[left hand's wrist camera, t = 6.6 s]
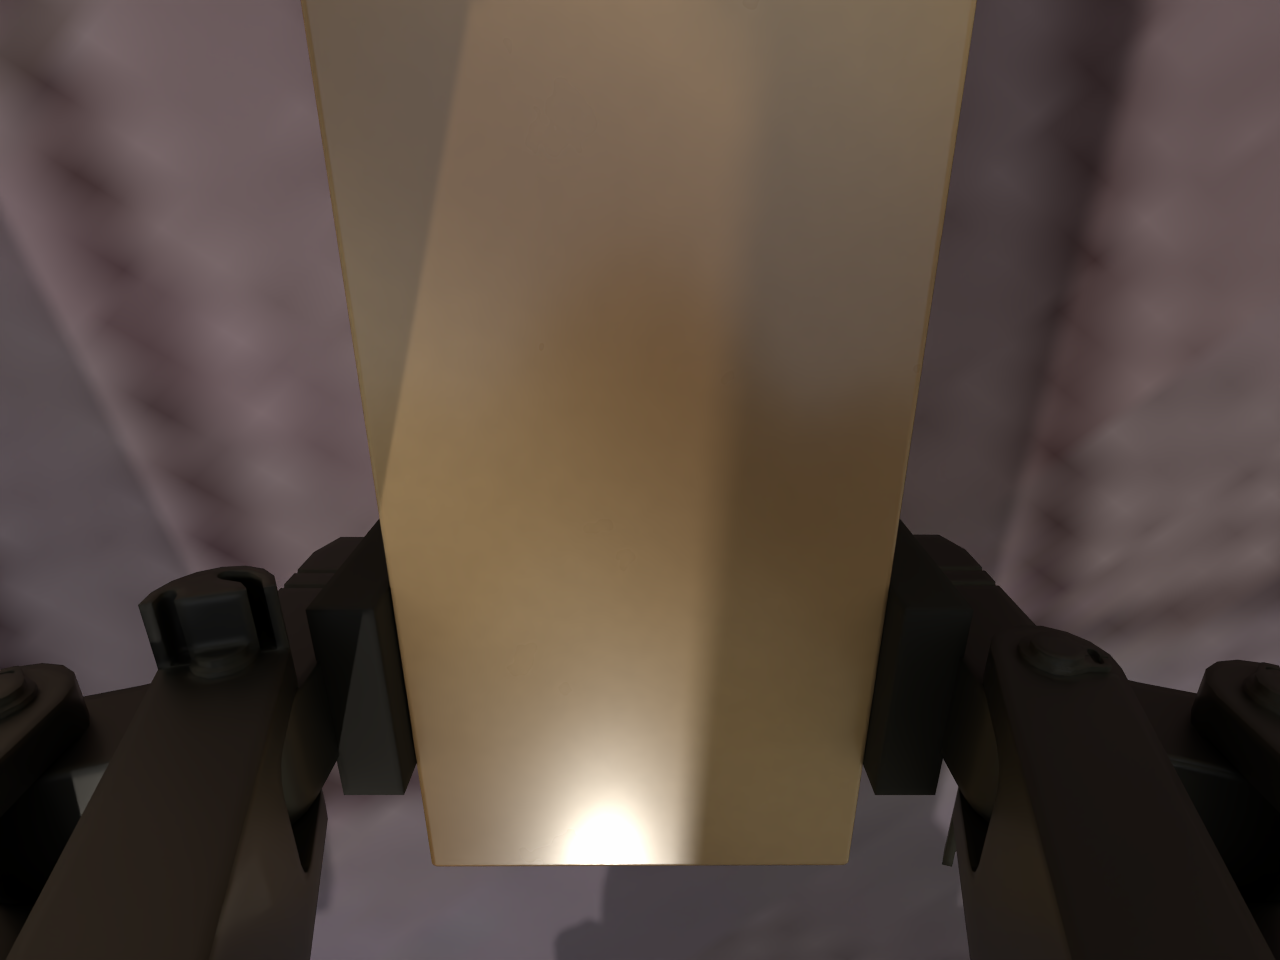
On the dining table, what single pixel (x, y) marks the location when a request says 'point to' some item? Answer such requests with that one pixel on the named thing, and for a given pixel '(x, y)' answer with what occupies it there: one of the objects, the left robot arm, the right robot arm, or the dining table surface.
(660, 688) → the brass rectangular prism
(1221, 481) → the dining table surface
